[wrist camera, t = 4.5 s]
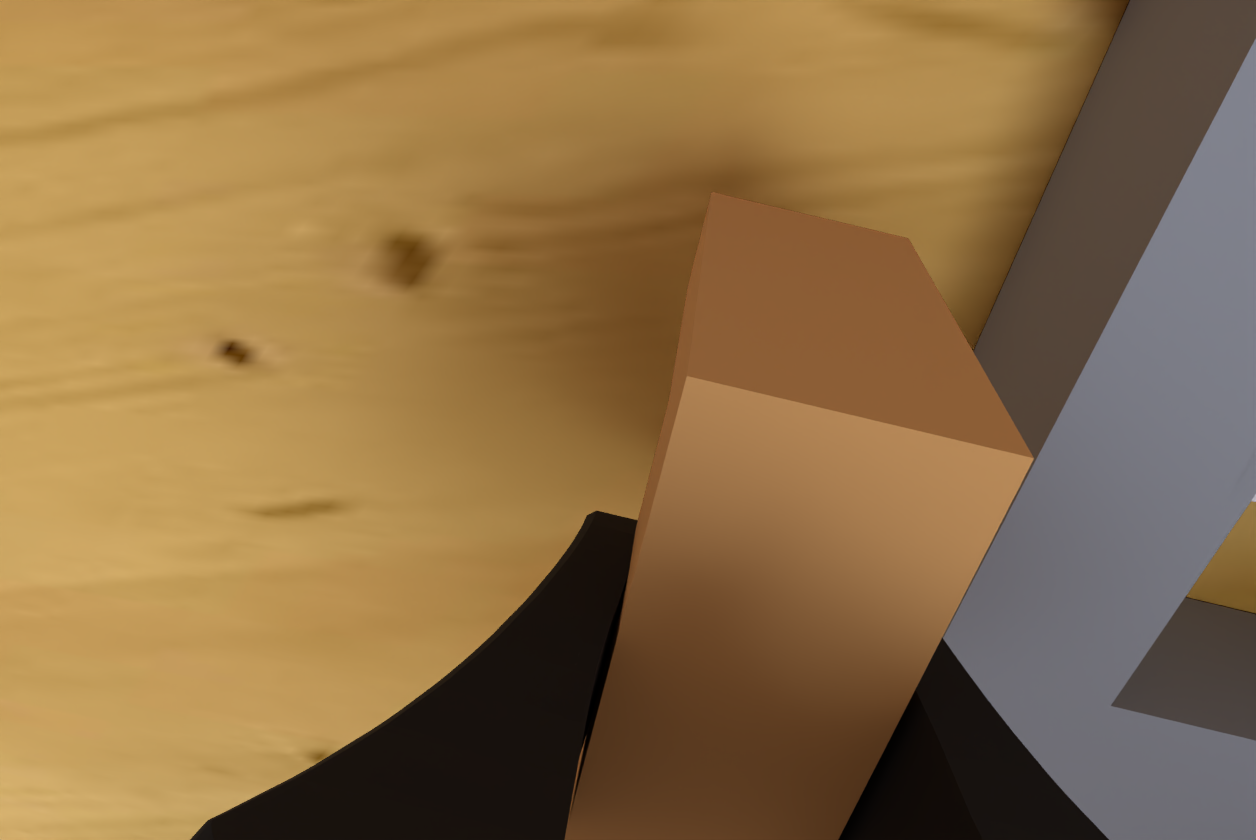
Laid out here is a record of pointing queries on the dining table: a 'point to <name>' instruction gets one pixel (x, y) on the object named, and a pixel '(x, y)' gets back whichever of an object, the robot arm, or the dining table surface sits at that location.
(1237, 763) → the grey rectangular frame
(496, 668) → the robot arm
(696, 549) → the toy arch block
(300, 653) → the dining table surface
